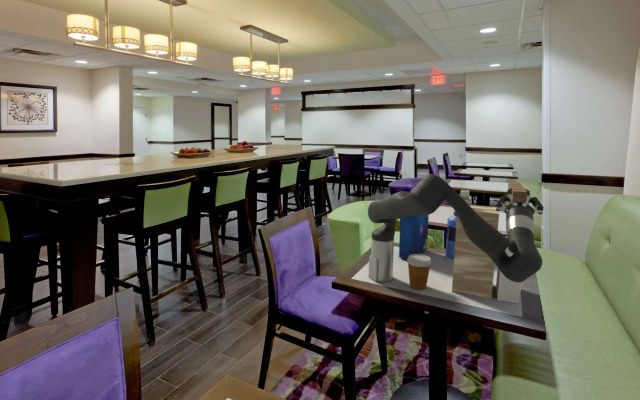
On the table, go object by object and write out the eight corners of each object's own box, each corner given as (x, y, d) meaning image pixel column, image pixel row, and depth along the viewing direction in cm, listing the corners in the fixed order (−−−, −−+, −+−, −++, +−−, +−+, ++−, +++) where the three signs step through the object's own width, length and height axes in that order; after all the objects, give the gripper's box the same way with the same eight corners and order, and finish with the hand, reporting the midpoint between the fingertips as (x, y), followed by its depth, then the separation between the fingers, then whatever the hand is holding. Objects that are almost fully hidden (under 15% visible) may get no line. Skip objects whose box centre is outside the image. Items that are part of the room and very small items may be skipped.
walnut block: (526, 204, 119) (527, 192, 118) (512, 203, 120) (513, 191, 120) (518, 192, 142) (519, 182, 141) (507, 192, 144) (508, 181, 143)
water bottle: (441, 256, 183) (444, 207, 179) (451, 252, 190) (454, 204, 185) (459, 261, 177) (462, 210, 172) (468, 256, 183) (472, 207, 178)
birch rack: (491, 298, 138) (500, 195, 130) (451, 291, 143) (458, 192, 136) (490, 284, 150) (499, 189, 143) (454, 278, 156) (460, 187, 148)
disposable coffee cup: (415, 293, 142) (417, 263, 139) (400, 284, 150) (402, 255, 148) (435, 289, 145) (437, 260, 143) (419, 280, 154) (421, 252, 152)
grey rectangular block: (518, 303, 133) (524, 249, 129) (497, 300, 136) (502, 246, 132) (515, 287, 147) (520, 237, 143) (495, 284, 149) (500, 235, 146)
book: (410, 262, 175) (412, 210, 170) (396, 259, 179) (398, 208, 175) (427, 250, 192) (430, 203, 187) (414, 248, 196) (416, 201, 192)
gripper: (493, 231, 118) (494, 197, 130) (544, 236, 113) (540, 200, 125) (495, 213, 114) (496, 180, 126) (548, 217, 108) (544, 182, 120)
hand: (518, 190), depth 125 cm, fingers closed on walnut block, 4 cm apart
